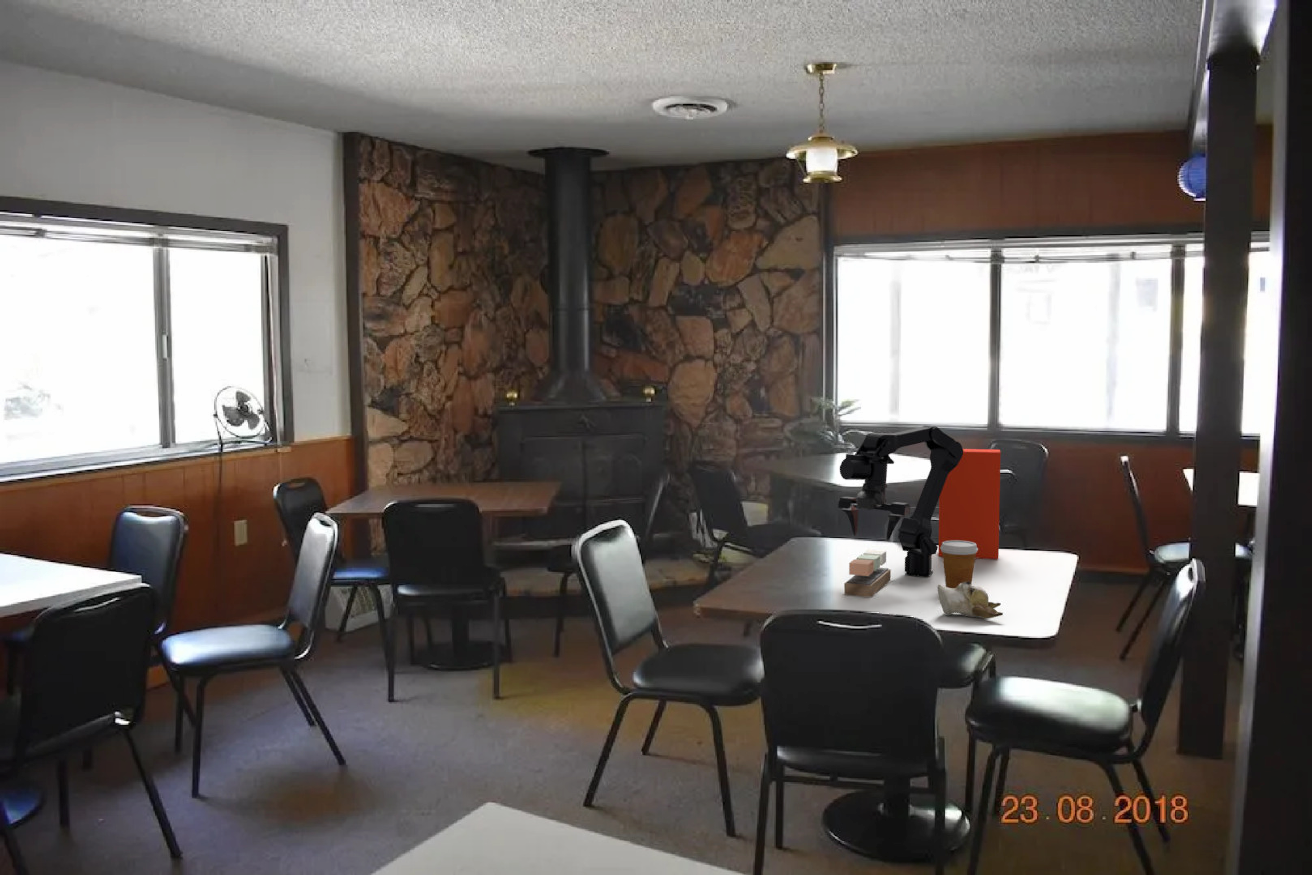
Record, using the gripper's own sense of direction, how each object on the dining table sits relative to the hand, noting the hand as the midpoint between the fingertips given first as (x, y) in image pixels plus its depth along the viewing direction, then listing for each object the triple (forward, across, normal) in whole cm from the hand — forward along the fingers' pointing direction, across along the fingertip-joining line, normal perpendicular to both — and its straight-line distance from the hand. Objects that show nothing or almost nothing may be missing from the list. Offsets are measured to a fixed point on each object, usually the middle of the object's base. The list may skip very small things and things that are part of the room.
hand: (871, 537), depth 291 cm
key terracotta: (+8, +2, -13) cm, 16 cm away
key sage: (+7, +2, -7) cm, 10 cm away
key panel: (+12, +2, -6) cm, 14 cm away
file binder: (+8, +15, +48) cm, 51 cm away
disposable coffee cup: (+11, +23, +3) cm, 26 cm away
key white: (+7, +1, 0) cm, 7 cm away
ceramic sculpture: (+13, +33, -23) cm, 42 cm away
